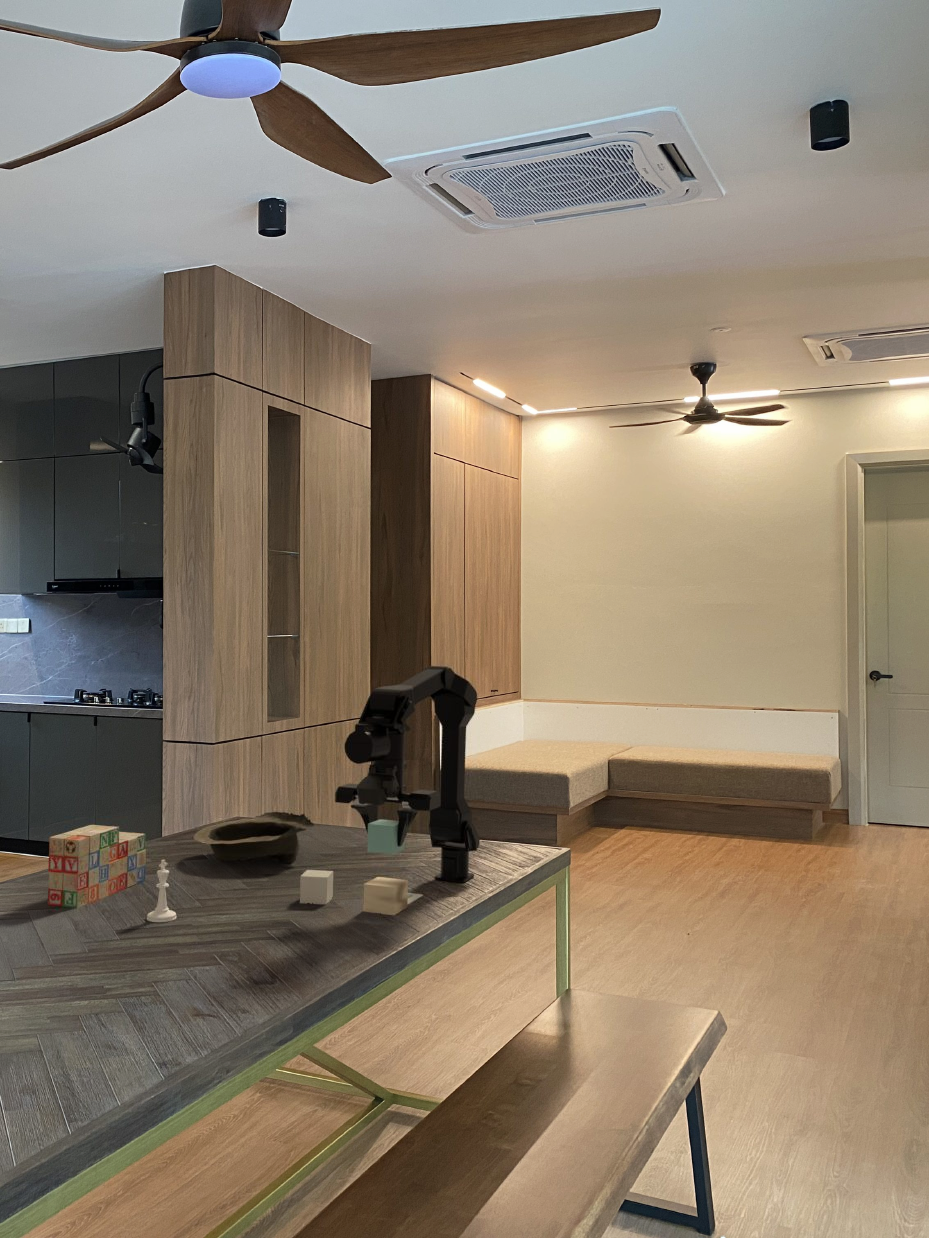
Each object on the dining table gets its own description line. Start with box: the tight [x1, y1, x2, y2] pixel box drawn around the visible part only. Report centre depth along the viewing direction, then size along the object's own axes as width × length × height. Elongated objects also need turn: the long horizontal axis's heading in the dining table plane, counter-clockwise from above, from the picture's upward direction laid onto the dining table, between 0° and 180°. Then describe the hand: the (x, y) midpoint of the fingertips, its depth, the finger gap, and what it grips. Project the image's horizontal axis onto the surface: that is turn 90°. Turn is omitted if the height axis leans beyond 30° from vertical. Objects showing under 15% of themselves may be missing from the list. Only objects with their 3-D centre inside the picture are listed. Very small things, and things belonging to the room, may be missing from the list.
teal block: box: [367, 819, 405, 855], centre depth 192 cm, size 5×5×5 cm
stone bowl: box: [193, 811, 315, 864], centre depth 228 cm, size 25×25×9 cm
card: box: [407, 892, 424, 905], centre depth 200 cm, size 7×7×1 cm
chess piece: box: [146, 859, 177, 923], centre depth 182 cm, size 5×5×10 cm
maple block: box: [362, 876, 409, 916], centre depth 192 cm, size 6×6×5 cm
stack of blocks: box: [47, 824, 147, 909], centre depth 198 cm, size 21×6×12 cm, turn 164°
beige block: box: [299, 869, 334, 905], centre depth 197 cm, size 5×5×5 cm
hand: (386, 844), depth 192 cm, fingers closed on teal block, 5 cm apart
